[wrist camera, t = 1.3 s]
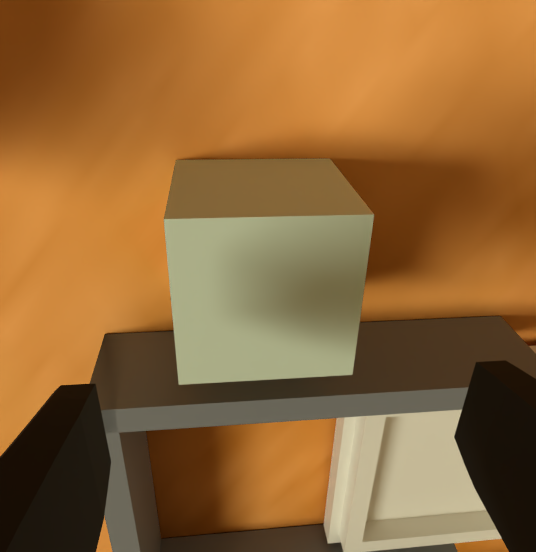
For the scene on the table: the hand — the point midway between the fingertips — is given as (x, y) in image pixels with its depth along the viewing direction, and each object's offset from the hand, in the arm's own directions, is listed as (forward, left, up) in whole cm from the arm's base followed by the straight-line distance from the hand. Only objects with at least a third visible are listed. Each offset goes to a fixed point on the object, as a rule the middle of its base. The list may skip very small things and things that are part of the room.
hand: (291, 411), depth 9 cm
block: (0, 0, -9) cm, 9 cm away
